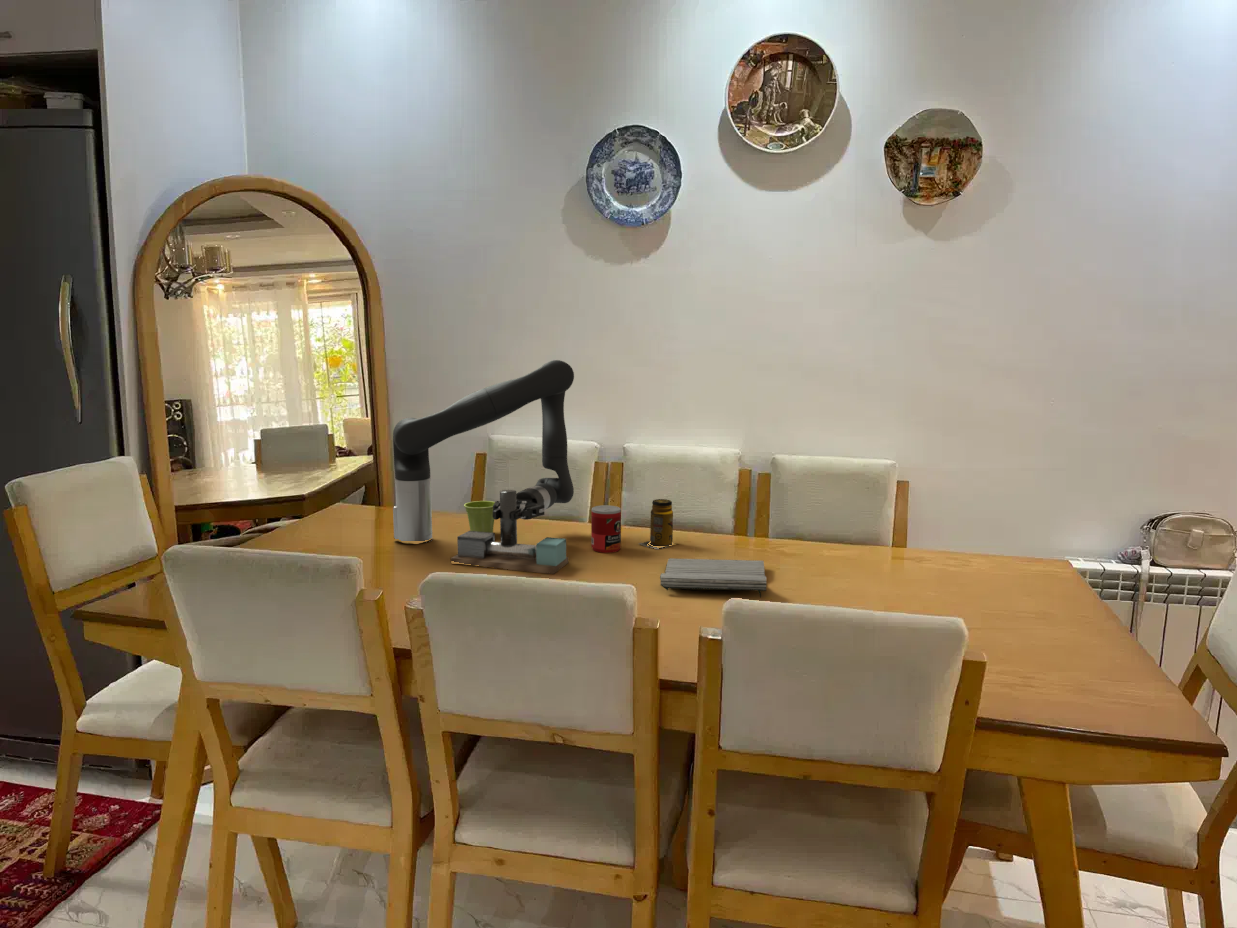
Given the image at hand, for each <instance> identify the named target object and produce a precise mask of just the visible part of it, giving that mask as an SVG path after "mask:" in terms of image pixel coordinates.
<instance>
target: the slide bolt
mask: <svg viewBox="0 0 1237 928" xmlns="http://www.w3.org/2000/svg"><path fill="white" fill-rule="evenodd" d="M516 494H517V490H515V489H502V490H500V491H499V501H500V518H499V519H500V520H499V521H500V522H499V524H500V527H499V528H500V532H499V533H500V541H495V542H493V541H485V554H492V555H503V556H514V557H524V558H536V544H526V543H518V527H517V526H518V523H517V520H518V519H517V520H516V521H511V512H513V511H515V510H517V505H516Z"/></svg>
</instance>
